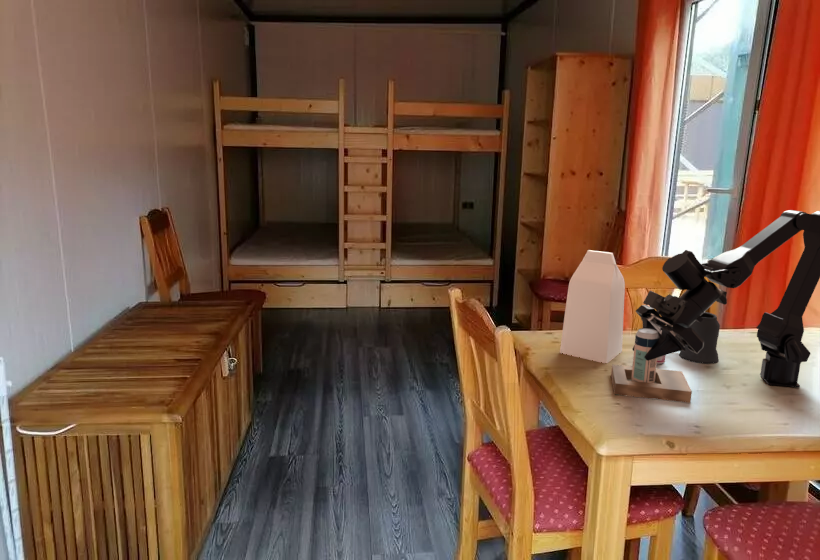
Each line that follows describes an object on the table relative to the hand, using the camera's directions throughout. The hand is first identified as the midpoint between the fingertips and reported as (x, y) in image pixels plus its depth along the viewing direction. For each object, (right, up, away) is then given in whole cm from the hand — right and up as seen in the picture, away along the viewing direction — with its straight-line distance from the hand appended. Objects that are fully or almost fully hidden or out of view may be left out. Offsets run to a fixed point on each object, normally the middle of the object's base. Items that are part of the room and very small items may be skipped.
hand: (639, 355), depth 134 cm
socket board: (+2, -7, +1) cm, 8 cm away
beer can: (+1, -7, +2) cm, 7 cm away
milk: (-3, -2, +24) cm, 24 cm away
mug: (+22, -3, +23) cm, 32 cm away
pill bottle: (+11, -4, +19) cm, 22 cm away
